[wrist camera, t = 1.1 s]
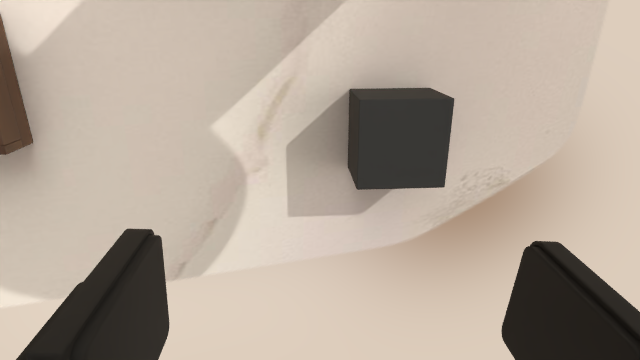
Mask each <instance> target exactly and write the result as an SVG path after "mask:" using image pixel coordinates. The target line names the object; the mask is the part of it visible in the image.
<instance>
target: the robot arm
mask: <svg viewBox="0 0 640 360" xmlns="http://www.w3.org/2000/svg"><path fill="white" fill-rule="evenodd" d="M168 331H169V315H168V304H167V293H166V282H165V271H164V260H163V249H162V240H161V237H160V236H159V235H154V233H153V231H152V230H151V229H126V230H125V231H124V232H123V234H122V235H121V236H120V237H119V239H118V240H117V241H116V242H115V244H114V245H113V246H112V247H111V248H110V250H109V251H108V252H107V253H106V255H105V256H104V257H103V258H102V260H101V261H100V262H99V263H98V265H97V266H96V267H95V268H94V270H93V271H92V272H91V273H90V275H89V276H88V277H87V278H86V279H85V281H84V282H81V283H79V284H78V285H77V286H76V287H75V288H74V290H73V291H72V292H71V293H70V294H69V296H68V297H67V298H66V299H65V301H64V302H63V303H62V304H61V306H60V307H59V308H58V309H57V310H56V312H55V313H54V314H53V315H52V317H51V318H50V319H49V320H48V321H47V323H46V324H45V325H44V326H43V327H42V329H41V330H40V331H39V332H38V334H37V335H36V336H35V337H34V338H33V340H32V341H31V342H30V343H29V345H28V346H27V347H26V348H25V349H24V351H23V352H22V353H21V354H20V355H19V357H18V358H17V359H16V360H158V359H159V356H160V354H161V351H162V349H163V346H164V344H165V341H166V339H167V336H168ZM502 338H503V341H504V342H505V344H506V346H507V347H508V349H509V351H510V352H511V354H512V355H513V357H514V358H515V360H640V312H639V311H638V310H637V309H636V308H635V307H633V306H632V305H631V304H630V303H629V302H628V301H627V300H625V299H624V298H623V297H622V296H621V295H619V294H618V293H617V292H616V291H615V290H613V288H611V287H610V286H609V285H608V284H607V283H606V282H605V281H603V280H602V279H601V278H600V277H599V276H597V274H595V273H594V272H593V271H592V270H591V269H590V268H588V267H587V266H586V265H585V264H584V263H582V262H581V261H580V260H579V259H578V258H577V257H576V256H575V255H573V254H572V253H571V252H570V251H569V250H568V249H566V248H565V247H564V246H563V245H562V244H560V243H558V242H545V241H544V242H543V241H535V242H533V243H532V244H531V245H530V246H528V247H526V248H525V250H524V252H523V256H522V259H521V262H520V266H519V269H518V273H517V277H516V280H515V283H514V287H513V290H512V294H511V297H510V301H509V304H508V308H507V311H506V315H505V318H504V322H503V325H502Z"/></svg>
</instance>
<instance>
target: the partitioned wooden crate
mask: <svg viewBox="0 0 640 360" xmlns="http://www.w3.org/2000/svg"><path fill="white" fill-rule="evenodd" d="M31 143H33V140H32V136H31V132H30V128H29V124H28V120H27V116H26V113H25V109H24V105H23V101H22V97H21V93H20V89H19V85H18V81H17V77H16V73H15V70H14V66H13V62H12V58H11V54H10V50H9V46H8V42H7V38H6V34H5V30H4V27H3V23H2V19H1V15H0V155H6V154H9V153H11V152H13V151H15V150H18V149H20V148H22V147H24V146H27V145H29V144H31Z"/></svg>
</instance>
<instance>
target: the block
mask: <svg viewBox="0 0 640 360" xmlns="http://www.w3.org/2000/svg"><path fill="white" fill-rule="evenodd" d="M453 106H454V98H452V97H449V96H447V95H445V94H442V93H440V92H438V91H436V90H433V89H431V88H392V89H350V95H349V140H348V168H349V171H350V173H351V176H352V178H353V181H354V183H355V186H356V188H357V189H358V190H359V189H398V188H437V187H445V178H446V169H447V160H448V151H449V142H450V133H451V124H452V115H453Z"/></svg>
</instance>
